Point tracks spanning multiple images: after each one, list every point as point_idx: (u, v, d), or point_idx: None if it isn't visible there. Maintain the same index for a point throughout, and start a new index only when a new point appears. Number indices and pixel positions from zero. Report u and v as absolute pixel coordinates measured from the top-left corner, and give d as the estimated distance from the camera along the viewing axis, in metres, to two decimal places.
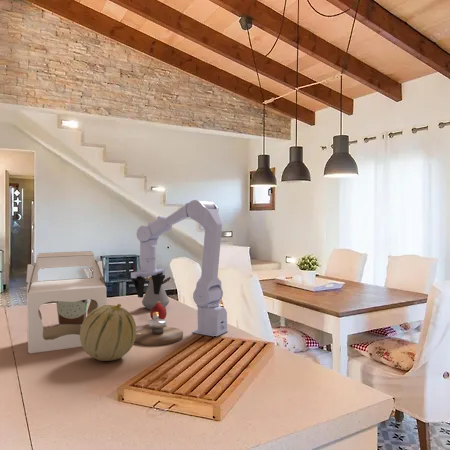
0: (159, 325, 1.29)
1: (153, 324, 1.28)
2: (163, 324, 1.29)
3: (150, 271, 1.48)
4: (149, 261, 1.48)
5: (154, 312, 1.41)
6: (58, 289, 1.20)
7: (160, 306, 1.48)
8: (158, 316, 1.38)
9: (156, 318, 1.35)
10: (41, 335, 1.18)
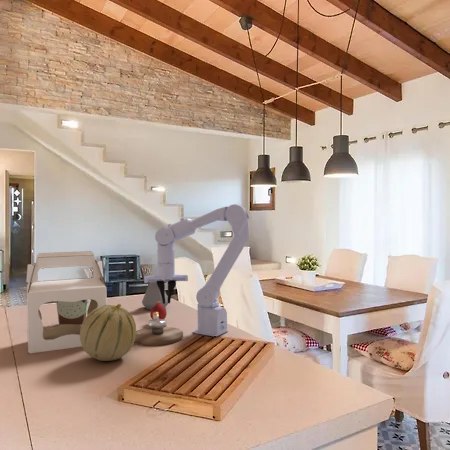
0: (159, 325, 1.29)
1: (153, 324, 1.28)
2: (163, 324, 1.29)
3: (162, 277, 1.37)
4: (162, 266, 1.37)
5: (154, 312, 1.41)
6: (58, 289, 1.20)
7: (160, 306, 1.48)
8: (158, 316, 1.38)
9: (156, 318, 1.35)
10: (41, 335, 1.18)
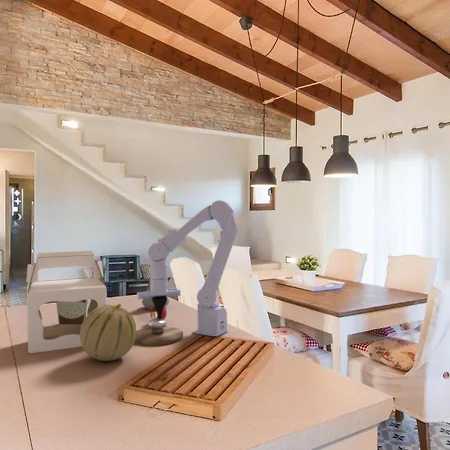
0: (159, 325, 1.29)
1: (153, 324, 1.28)
2: (163, 324, 1.29)
3: (157, 293, 1.36)
4: (156, 282, 1.36)
5: (153, 312, 1.41)
6: (58, 289, 1.20)
7: None
8: (157, 316, 1.38)
9: (155, 318, 1.35)
10: (41, 335, 1.18)
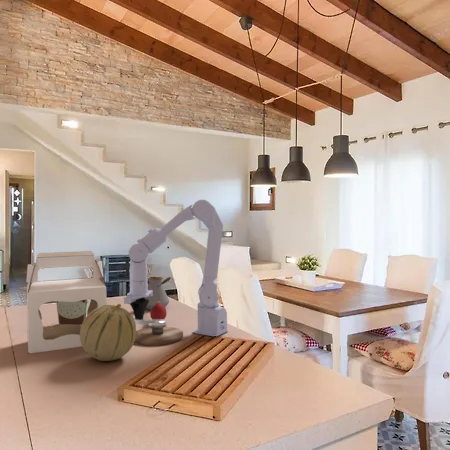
0: (165, 323, 1.30)
1: (161, 324, 1.29)
2: (166, 322, 1.32)
3: (143, 294, 1.33)
4: (142, 283, 1.33)
5: None
6: (58, 289, 1.20)
7: (160, 306, 1.48)
8: (141, 319, 1.34)
9: (146, 320, 1.33)
10: (41, 335, 1.18)
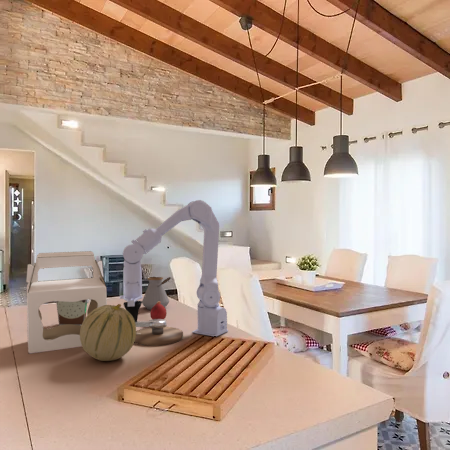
0: None
1: (165, 323, 1.30)
2: None
3: (140, 296, 1.31)
4: (139, 285, 1.30)
5: None
6: (58, 289, 1.20)
7: (160, 306, 1.48)
8: (136, 321, 1.31)
9: (145, 321, 1.31)
10: (41, 335, 1.18)
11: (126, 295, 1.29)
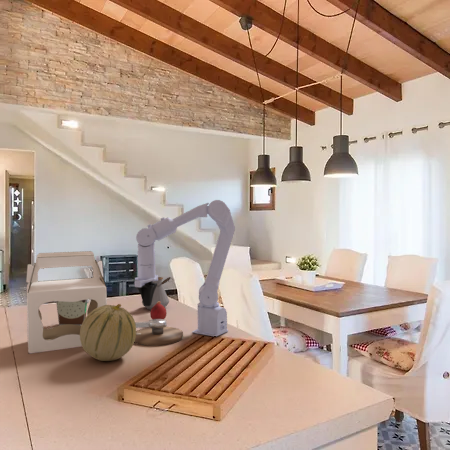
0: None
1: (165, 322, 1.30)
2: None
3: (152, 278, 1.34)
4: (151, 267, 1.34)
5: None
6: (58, 289, 1.20)
7: (160, 306, 1.48)
8: (136, 322, 1.30)
9: (145, 322, 1.30)
10: (41, 335, 1.18)
11: (139, 277, 1.35)
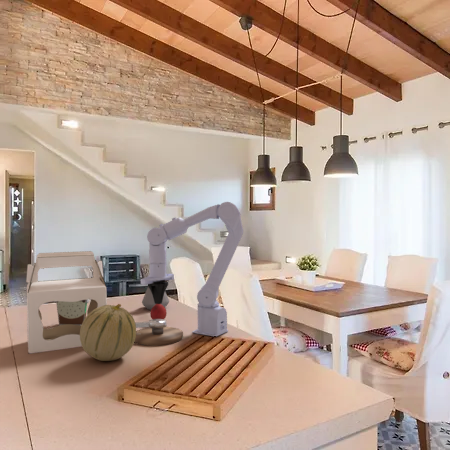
0: None
1: (165, 322, 1.30)
2: None
3: (161, 277, 1.36)
4: (160, 266, 1.36)
5: None
6: (58, 289, 1.20)
7: (160, 306, 1.48)
8: (136, 322, 1.30)
9: (145, 322, 1.30)
10: (41, 335, 1.18)
11: (149, 275, 1.38)
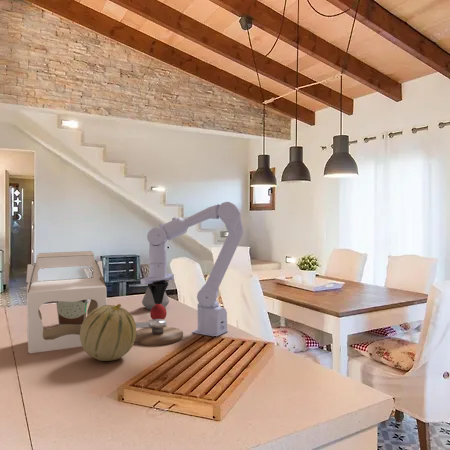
0: None
1: (165, 322, 1.30)
2: None
3: (161, 277, 1.36)
4: (160, 266, 1.36)
5: None
6: (58, 289, 1.20)
7: (160, 306, 1.48)
8: (136, 322, 1.30)
9: (145, 322, 1.30)
10: (41, 335, 1.18)
11: (149, 275, 1.38)
